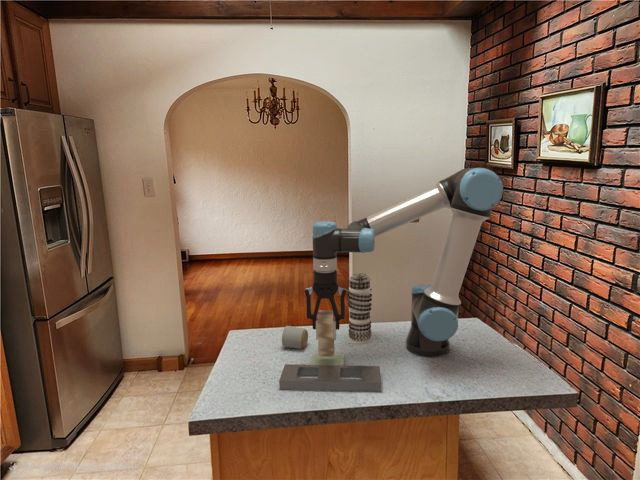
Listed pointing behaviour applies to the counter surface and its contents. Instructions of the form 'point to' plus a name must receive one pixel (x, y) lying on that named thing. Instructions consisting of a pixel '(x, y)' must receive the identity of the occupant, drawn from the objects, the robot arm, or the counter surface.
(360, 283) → the decorative candle
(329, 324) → the peg
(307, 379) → the grey flat slotted plate
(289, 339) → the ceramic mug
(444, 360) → the counter surface
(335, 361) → the mat
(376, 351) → the counter surface
